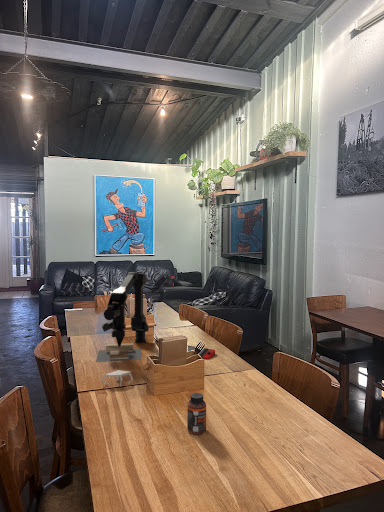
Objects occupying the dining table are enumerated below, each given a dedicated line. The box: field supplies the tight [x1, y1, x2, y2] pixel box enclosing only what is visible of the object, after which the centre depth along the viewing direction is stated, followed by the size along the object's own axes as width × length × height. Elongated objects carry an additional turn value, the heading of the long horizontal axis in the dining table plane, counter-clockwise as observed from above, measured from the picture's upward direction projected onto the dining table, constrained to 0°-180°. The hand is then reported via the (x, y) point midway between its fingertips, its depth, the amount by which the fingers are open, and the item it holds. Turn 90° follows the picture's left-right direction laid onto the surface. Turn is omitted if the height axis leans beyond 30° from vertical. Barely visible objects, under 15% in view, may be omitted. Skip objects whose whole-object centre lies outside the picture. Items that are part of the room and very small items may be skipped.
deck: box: [110, 350, 128, 359], centre depth 185 cm, size 6×9×2 cm, turn 99°
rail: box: [105, 342, 134, 353], centre depth 194 cm, size 3×14×4 cm, turn 99°
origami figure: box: [100, 369, 134, 387], centre depth 152 cm, size 12×8×5 cm
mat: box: [95, 348, 142, 363], centre depth 188 cm, size 18×22×1 cm
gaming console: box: [187, 345, 216, 360], centre depth 193 cm, size 29×4×10 cm
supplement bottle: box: [186, 392, 207, 435], centre depth 116 cm, size 6×6×11 cm
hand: (119, 346), depth 189 cm, fingers closed
